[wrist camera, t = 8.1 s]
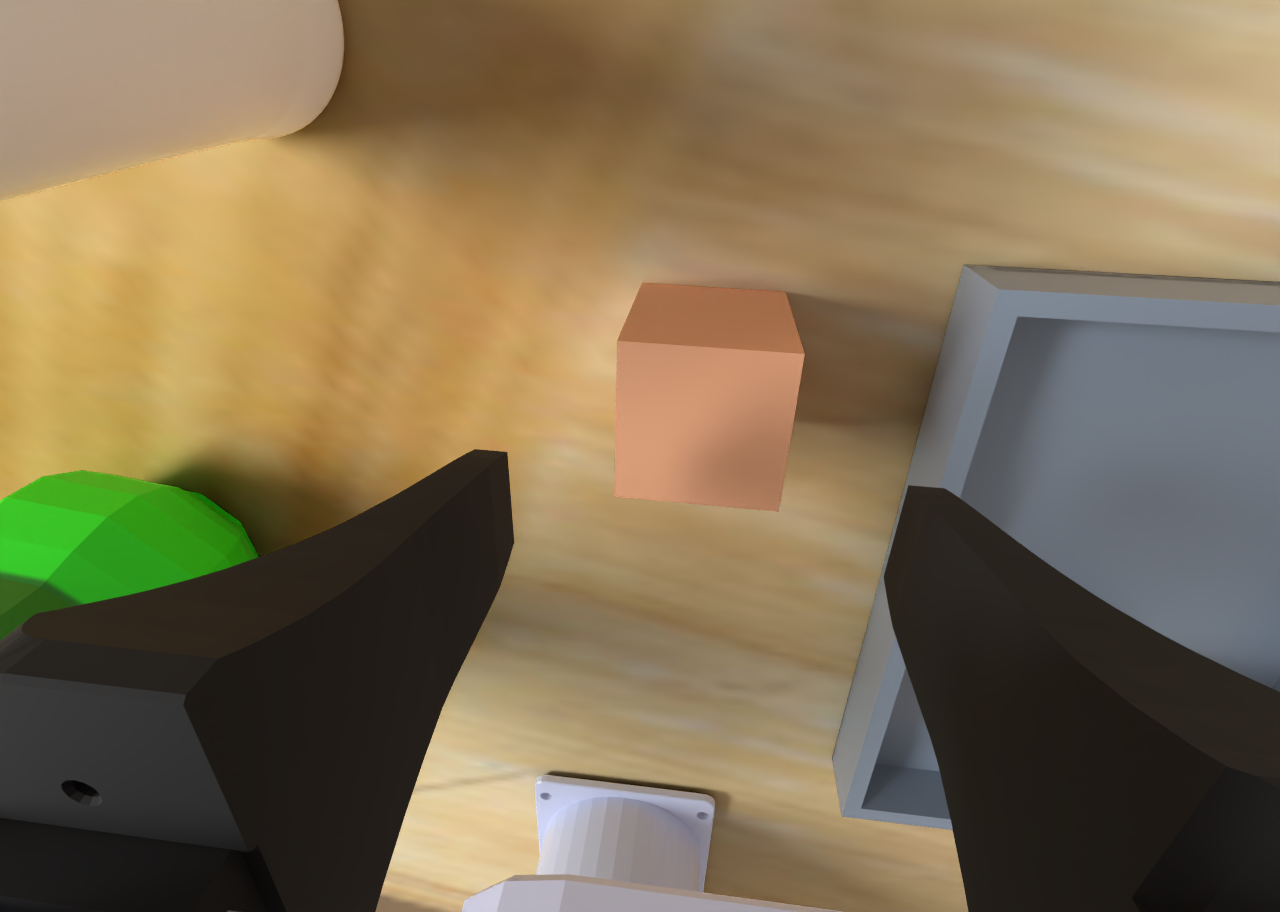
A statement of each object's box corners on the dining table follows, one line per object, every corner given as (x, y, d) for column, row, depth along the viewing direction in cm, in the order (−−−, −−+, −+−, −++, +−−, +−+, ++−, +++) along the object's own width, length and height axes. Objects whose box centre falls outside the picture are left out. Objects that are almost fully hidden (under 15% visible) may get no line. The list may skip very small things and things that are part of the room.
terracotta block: (767, 421, 20) (778, 511, 16) (637, 410, 20) (614, 496, 16) (785, 291, 18) (804, 353, 14) (642, 282, 19) (617, 341, 14)
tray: (1193, 800, 26) (1236, 864, 24) (832, 757, 27) (841, 816, 25) (1551, 297, 16) (1680, 329, 14) (963, 264, 17) (998, 289, 15)
